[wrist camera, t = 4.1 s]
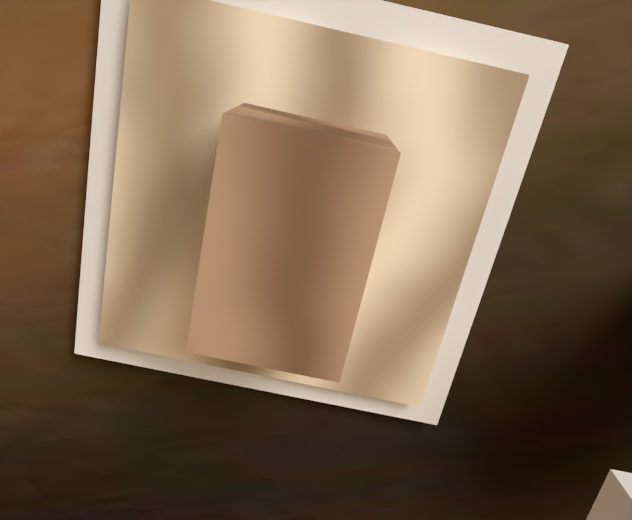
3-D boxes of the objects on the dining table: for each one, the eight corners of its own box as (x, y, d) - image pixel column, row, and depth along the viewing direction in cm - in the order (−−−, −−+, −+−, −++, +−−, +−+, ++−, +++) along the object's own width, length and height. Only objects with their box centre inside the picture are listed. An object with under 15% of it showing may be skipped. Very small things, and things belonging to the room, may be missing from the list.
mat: (82, 344, 29) (74, 353, 28) (115, -60, 23) (106, -65, 22) (433, 413, 30) (436, 425, 29) (559, 45, 24) (568, 44, 23)
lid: (106, 333, 28) (49, 403, 22) (140, -15, 22) (76, -41, 17) (416, 395, 28) (439, 478, 23) (521, 74, 23) (584, 78, 17)
